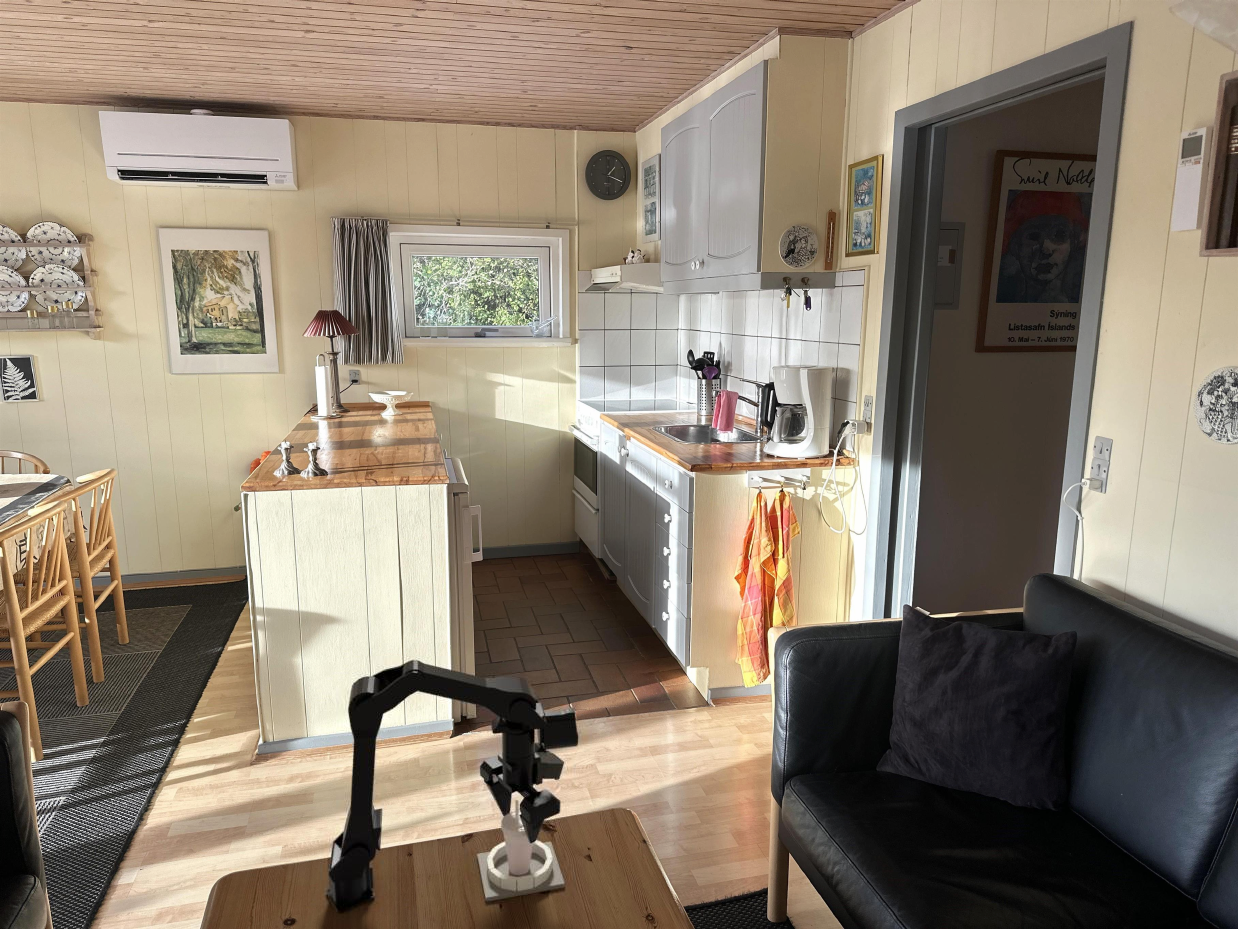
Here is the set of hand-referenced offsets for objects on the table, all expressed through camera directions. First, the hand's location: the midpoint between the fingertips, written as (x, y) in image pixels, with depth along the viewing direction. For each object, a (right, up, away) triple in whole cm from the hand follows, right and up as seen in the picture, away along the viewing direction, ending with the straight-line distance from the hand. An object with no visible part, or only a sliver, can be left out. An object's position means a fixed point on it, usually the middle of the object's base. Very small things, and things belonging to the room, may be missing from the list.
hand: (519, 829), depth 155 cm
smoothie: (0, -8, +2) cm, 8 cm away
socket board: (0, -9, +2) cm, 9 cm away
